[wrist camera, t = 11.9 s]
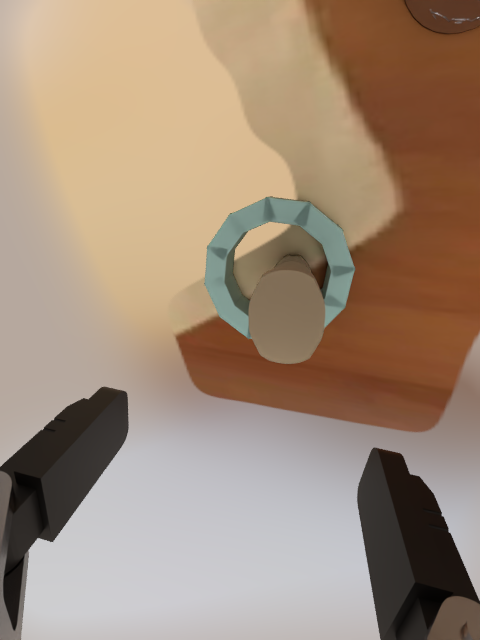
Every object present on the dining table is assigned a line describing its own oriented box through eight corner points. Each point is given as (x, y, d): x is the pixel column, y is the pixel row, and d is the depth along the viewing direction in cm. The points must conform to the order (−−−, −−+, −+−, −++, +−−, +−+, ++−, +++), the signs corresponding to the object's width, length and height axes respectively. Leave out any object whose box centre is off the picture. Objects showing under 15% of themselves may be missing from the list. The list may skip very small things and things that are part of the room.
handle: (269, 296, 35) (248, 361, 22) (270, 237, 33) (248, 269, 19) (313, 298, 35) (320, 366, 21) (318, 238, 32) (329, 271, 19)
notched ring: (221, 190, 32) (210, 189, 29) (362, 207, 30) (370, 209, 27) (210, 316, 38) (200, 329, 34) (330, 338, 36) (333, 354, 32)
